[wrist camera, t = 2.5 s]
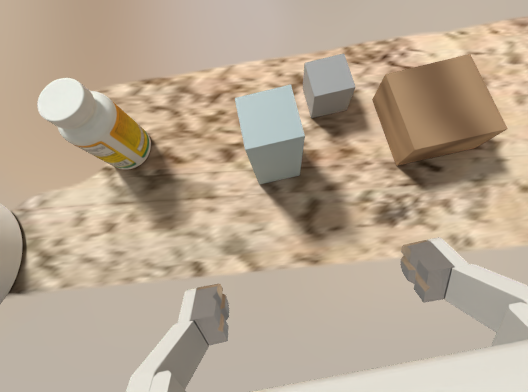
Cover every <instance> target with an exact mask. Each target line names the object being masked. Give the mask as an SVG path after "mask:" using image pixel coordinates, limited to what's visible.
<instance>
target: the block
mask: <svg viewBox="0 0 528 392" xmlns="http://www.w3.org/2000/svg"><path fill="white" fill-rule="evenodd" d="M354 90H355V84H354V81H353V78H352V75H351V72H350V70H349V67H348V64H347V61H346V58H345V55H344V54H340V55H336V56H332V57H328V58H323V59H319V60H315V61H311V62H307V63H305V66H304V79H303V91H304V94H305V98H306V101H307V105H308V109H309V112H310V116H311V118H315V117H319V116H323V115H328V114H332V113H337V112H341V111H345V110H347V108H348V105H349V103H350V100H351V97H352V95H353V92H354Z"/></svg>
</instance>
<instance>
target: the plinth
mask: <svg viewBox="0 0 528 392" xmlns="http://www.w3.org/2000/svg"><path fill="white" fill-rule="evenodd" d="M372 100H373V103H374V105H375V108H376V111H377V114H378V117H379V119H380V122H381V125H382V128H383V130H384V133H385V136H386V139H387V141H388V144H389V147H390V150H391V153H392V155H393V158H394V161H395V164H396V166H398V165H402V164H407V163H411V162H416V161H420V160H425V159H429V158H433V157H438V156H442V155H447V154H451V153H456V152H460V151H465V150H469V149H474V148H476V147H478V146H480V145H481V144H483V143H485V142H486V141H488V140H490V139H491V138H493V137H495V136H496V135H498V134H500V133H501V132H503V131H505V130H506V129H507V127H506V125H505V123H504V121H503V119H502V117H501V115H500V113H499V111H498V109H497V107H496V105H495V103H494V101H493V99H492V97H491V95H490V93H489V91H488V89H487V87H486V85H485V83H484V81H483V79H482V77H481V75H480V73H479V71H478V69H477V67H476V65H475V63H474V61H473V59H472V57H471V55H470V54H468V55H464V56H460V57H456V58H452V59H448V60H443V61H439V62H435V63H431V64H427V65H423V66H418V67H414V68H410V69H406V70H402V71H398V72H393V73H389V74H385V76H384V78H383V80H382V82H381V84H380V86H379V88H378V90H377V92H376V94H375V96H374V97H373V99H372Z"/></svg>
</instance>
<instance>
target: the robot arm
mask: <svg viewBox="0 0 528 392" xmlns="http://www.w3.org/2000/svg"><path fill="white" fill-rule="evenodd" d="M401 252H402V253H403V254H404V256H403V257H402V258H401V268H402V272H403V274H404V275H405V277H406V278H407V280H408V281H410V282H412V283H414V284H415V285H414V290H415V291H416V293H417V294H418V295H419V297H420V298H421V299H422V301H423V302H429V301H435V300H441V299H445V300H446V301H447V302H449V303H451V304H452V305H454V306H455V307H457V308H458V309H460V310H461V311H463V312H465V313H466V314H468V315H470V316H471V317H473V318H474V319H476V320H477V321H479V322H480V323H482V324H484V325H485V326H487V327H488V328H490V329H492V330H493V331H495V332H496V335H495V338H494V340H493V342H492V346H491V347H485V348H480V349H475V350H470V351H464V352H459V353H454V354H449V355H443V356H438V357H433V358H427V359H421V360H416V361H411V362H405V363H400V364H395V365H389V366H385V367H379V368H373V369H368V370H362V371H357V372H352V373H347V374H341V375H336V376H331V377H325V378H320V379H315V380H309V381H304V382H300V383H293V384H288V385H283V386H277V387H272V388H267V389H261V390H256V391H252V392H528V285H525V284H522V283H520V282H517V281H515V280H513V279H510V278H508V277H505V276H502V275H500V274H498V273H495V272H493V271H490V270H488V269H485V268H482V267H480V266H478V265H475V264H469V263H468V262H466V261H465V260H464V259H463V258H462V257H461V256H460V255H459V254H458V253H457V252H456V251H455V250H454V249H453V248H452V247H451V246H449V245H448V244H447V243H446V242H445V241H444V240H443V239H442V238H440V237H438V238H434V239H429V240H424V241H419V242H415V243H410V244H406V245H403V246H402V251H401ZM21 257H22V235H21V231H20V227H19V225H18V222H17V220H16V218H15V217H14V215H13V214H12V213H11V212H10V210H9V209H7V208H6V207H5V206H3V205H2V204H0V304H1V302H2V301H3V300H4V298H5V297H6V296H7V294H8V292H9V291H10V289H11V287H12V285H13V283H14V281H15V279H16V276H17V273H18V270H19V267H20V263H21ZM222 291H223V288H222V286H221V284H215V285H210V286H204V287H199V288H194V289H189V290H186V292H185V294H184V298H183V303H182V306H181V311H180V315H179V319H178V323H177V324H174V325H173V326H172V328H171V329H170V330H169V331H168V332H167V334H166V335H165V336H164V337H163V338H162V340H161V341H160V342H159V343H158V345H157V346H156V347H155V348H154V349H153V351H152V352H151V353H150V354H149V355H148V357H147V358H146V359H145V360H144V362H143V363H142V364H141V365H140V367H139V368H138V369H137V370H136V371H135V373H134V374H133V375H132V376H131V379H130V381H129V384H128V388H127V390H126V392H186V391H185V388H186V386H187V385H188V383H189V381H190V379H191V378H192V376H193V374H194V372H195V370H196V369H197V367H198V365H199V363H200V361H201V360H202V358H203V356H204V354H205V352H206V350H207V349H208V347H209V345H213V344H217V343H222V342H226V341H228V325H227V322H226V320H227V319H228V317H229V305H228V300H227V297H226V295H224V294H222Z"/></svg>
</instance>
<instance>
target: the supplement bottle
mask: <svg viewBox="0 0 528 392" xmlns="http://www.w3.org/2000/svg"><path fill="white" fill-rule="evenodd" d="M38 110H39V113H40V115H41V116H42V117H43V118H45V119H46V120H48V121H49V122H51V123H52V124H54V125H55V126H57V127H58V130H59V132H60V134H61V135H62V136H63V137H64V138H65V139H66V140H67V141H68V142H70V143H72V144H73V145H75V146H77V147H79V148H81V149H83V150H85V151H86V152H88V153H90V154H92V155H94V156H96V157H97V158H99V159H101V160H104V161H105V162H107V163H108V164H110V165H112V166H114V167H116V168H119V169H132V168H135V167H137V166H139V165H141V164H142V163H143V162H144V161H145V160H146V159H147V157H148V155H149V153H150V149H151V140H150V137H149V135H148V134H147V132H146V131H145V130H144V129H143V128H141V127H140V126H139V125H138V124H137V123H136V122H135V121H134V120H133V119H132V118H130V117H129V116H128V115H127V114H126V113H125V112H124V111H123V110H121V109H120V108H119V107H118V106H117V105H116V104H115V103H114V102H113V101H112V100H111V99H109V98H108V97H107V96H105V95H104V94H101V93H99V92H95V91H90V90H89V89H87V88H86V87H84V86H83V85H82V84H81V83H79V82H78V81H76V80H74V79H70V78H62V79H58V80H55V81H53V82H51V83H50V84H49V85H47V86H46V87H45V89H44V90H43V91H42V92H41V94H40V96H39V99H38Z"/></svg>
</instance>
